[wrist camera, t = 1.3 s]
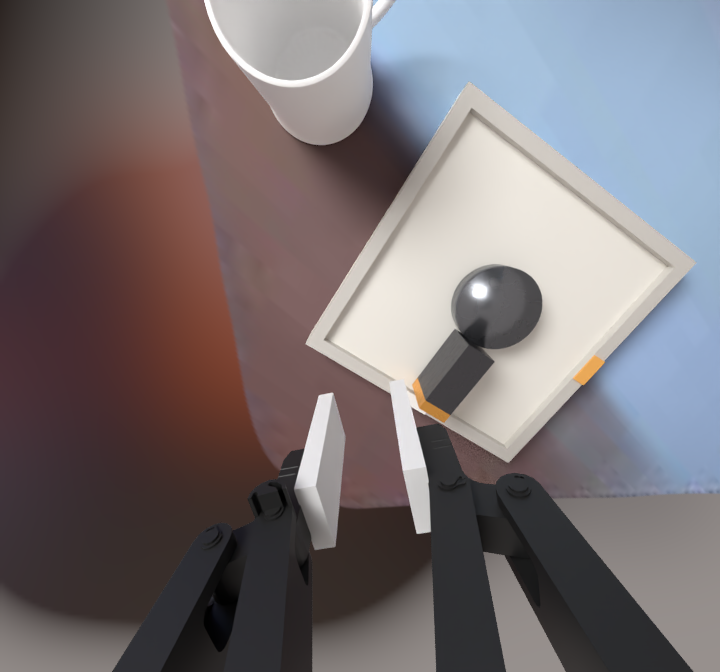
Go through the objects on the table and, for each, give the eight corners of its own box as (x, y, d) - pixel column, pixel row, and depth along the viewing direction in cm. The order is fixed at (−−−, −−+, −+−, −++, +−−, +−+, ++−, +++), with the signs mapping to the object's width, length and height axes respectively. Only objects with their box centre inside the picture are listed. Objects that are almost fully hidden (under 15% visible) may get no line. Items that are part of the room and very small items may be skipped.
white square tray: (458, 95, 27) (469, 80, 24) (668, 259, 31) (698, 262, 28) (310, 334, 34) (305, 344, 31) (498, 445, 38) (509, 464, 35)
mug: (379, -33, 25) (391, -249, 13) (427, 89, 27) (472, -9, 16) (245, 59, 27) (157, -64, 15) (301, 165, 29) (260, 127, 18)
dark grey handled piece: (484, 247, 29) (505, 251, 24) (548, 292, 30) (577, 303, 25) (393, 373, 32) (397, 395, 28) (452, 408, 33) (464, 435, 29)
